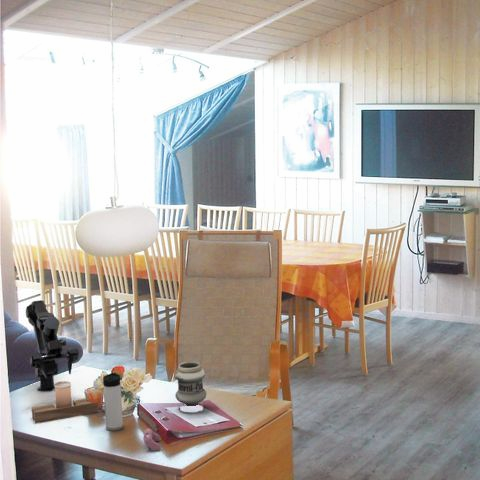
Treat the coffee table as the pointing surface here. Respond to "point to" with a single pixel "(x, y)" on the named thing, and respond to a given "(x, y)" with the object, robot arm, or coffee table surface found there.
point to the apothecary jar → (190, 383)
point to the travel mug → (113, 402)
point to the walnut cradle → (63, 411)
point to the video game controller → (151, 439)
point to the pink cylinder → (63, 394)
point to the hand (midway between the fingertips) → (58, 375)
